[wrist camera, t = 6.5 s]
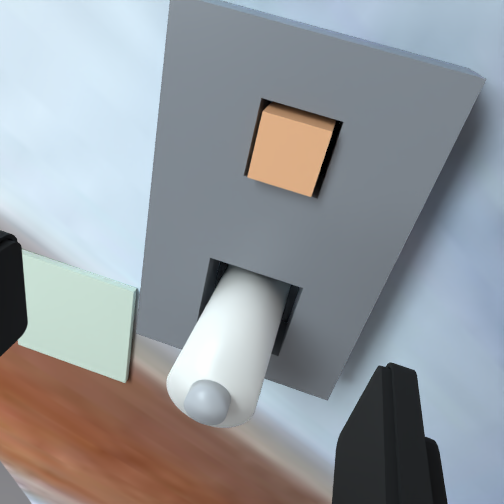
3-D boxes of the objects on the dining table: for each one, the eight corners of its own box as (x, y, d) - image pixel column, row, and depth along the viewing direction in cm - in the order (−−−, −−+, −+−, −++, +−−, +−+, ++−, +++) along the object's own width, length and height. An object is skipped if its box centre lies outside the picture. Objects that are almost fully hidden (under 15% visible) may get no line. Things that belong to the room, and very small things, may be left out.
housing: (469, 68, 24) (486, 79, 20) (331, 363, 36) (327, 400, 33) (197, -6, 25) (170, -8, 21) (156, 304, 38) (136, 333, 34)
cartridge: (298, 262, 32) (261, 395, 21) (281, 313, 35) (240, 454, 24) (233, 241, 33) (164, 360, 22) (221, 293, 35) (154, 422, 24)
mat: (136, 288, 37) (133, 292, 37) (128, 378, 44) (125, 383, 43) (13, 246, 38) (8, 249, 38) (22, 340, 45) (18, 344, 44)
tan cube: (338, 113, 26) (332, 131, 22) (319, 171, 28) (311, 197, 24) (278, 95, 26) (262, 111, 22) (263, 154, 28) (247, 177, 24)
